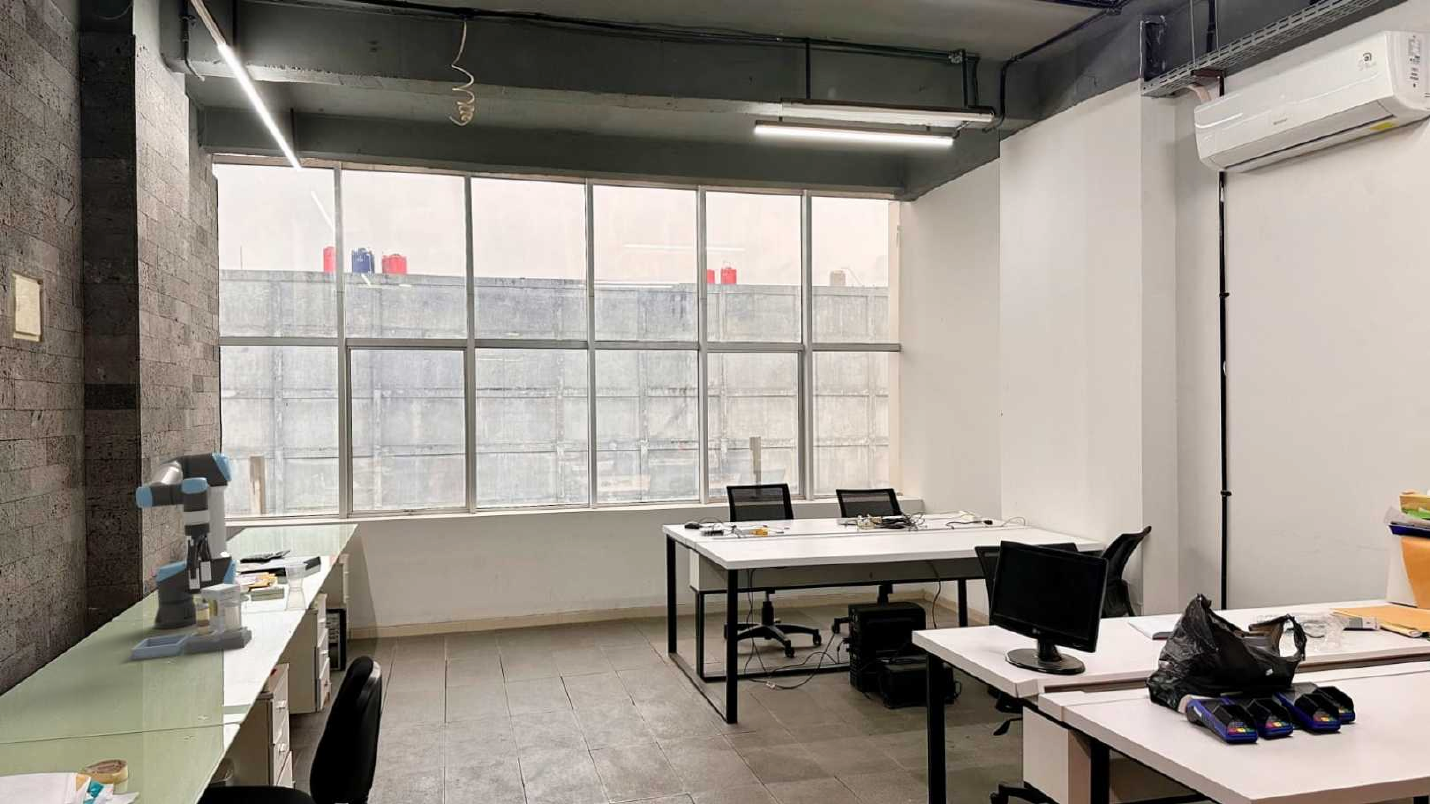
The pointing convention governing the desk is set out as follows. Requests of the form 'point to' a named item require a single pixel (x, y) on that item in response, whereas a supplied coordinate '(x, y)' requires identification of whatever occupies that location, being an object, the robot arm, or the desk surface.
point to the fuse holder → (222, 634)
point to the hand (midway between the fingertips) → (200, 584)
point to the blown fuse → (202, 619)
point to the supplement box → (220, 603)
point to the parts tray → (160, 646)
